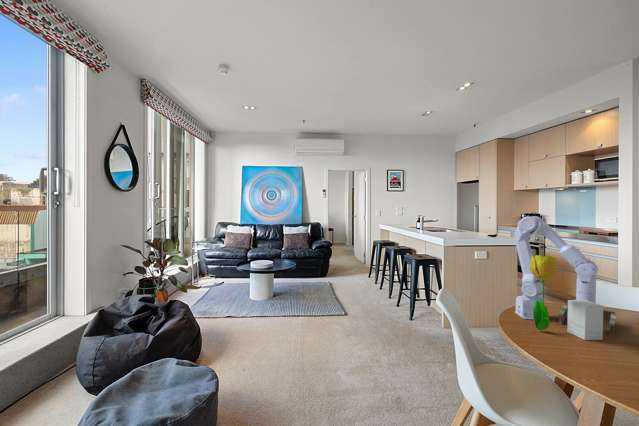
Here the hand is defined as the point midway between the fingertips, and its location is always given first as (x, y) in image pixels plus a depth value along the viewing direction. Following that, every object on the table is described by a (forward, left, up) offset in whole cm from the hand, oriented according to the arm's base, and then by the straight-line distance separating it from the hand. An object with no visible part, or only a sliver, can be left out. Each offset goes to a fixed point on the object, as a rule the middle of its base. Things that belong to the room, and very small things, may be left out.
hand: (584, 326), depth 117 cm
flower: (-18, -4, -2) cm, 19 cm away
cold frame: (+5, +6, -1) cm, 8 cm away
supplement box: (-4, -6, -2) cm, 8 cm away
